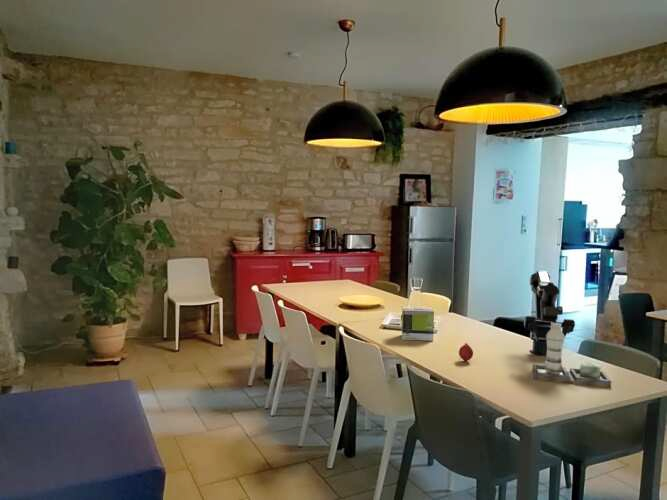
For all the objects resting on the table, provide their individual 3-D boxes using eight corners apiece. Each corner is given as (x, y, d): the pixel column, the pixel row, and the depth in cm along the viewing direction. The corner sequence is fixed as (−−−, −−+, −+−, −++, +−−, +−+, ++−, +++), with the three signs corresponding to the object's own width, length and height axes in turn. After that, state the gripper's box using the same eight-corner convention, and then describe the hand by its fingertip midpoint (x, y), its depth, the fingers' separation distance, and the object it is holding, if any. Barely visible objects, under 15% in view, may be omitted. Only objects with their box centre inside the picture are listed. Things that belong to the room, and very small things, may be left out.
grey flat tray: (535, 379, 197) (536, 364, 196) (532, 370, 208) (533, 355, 208) (610, 387, 190) (611, 371, 189) (602, 377, 201) (604, 362, 201)
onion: (462, 358, 221) (463, 340, 221) (474, 361, 218) (475, 342, 217) (456, 361, 217) (457, 342, 216) (468, 364, 213) (469, 345, 213)
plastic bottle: (552, 370, 205) (555, 320, 203) (566, 375, 199) (569, 324, 197) (539, 371, 202) (543, 321, 201) (553, 377, 196) (556, 325, 195)
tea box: (431, 336, 258) (432, 307, 257) (433, 341, 248) (434, 311, 247) (401, 334, 260) (402, 306, 258) (401, 340, 250) (403, 310, 248)
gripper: (526, 296, 212) (527, 329, 202) (575, 300, 207) (579, 333, 197) (523, 311, 220) (524, 343, 210) (570, 315, 215) (574, 348, 205)
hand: (550, 342), depth 206 cm, fingers open, 9 cm apart
